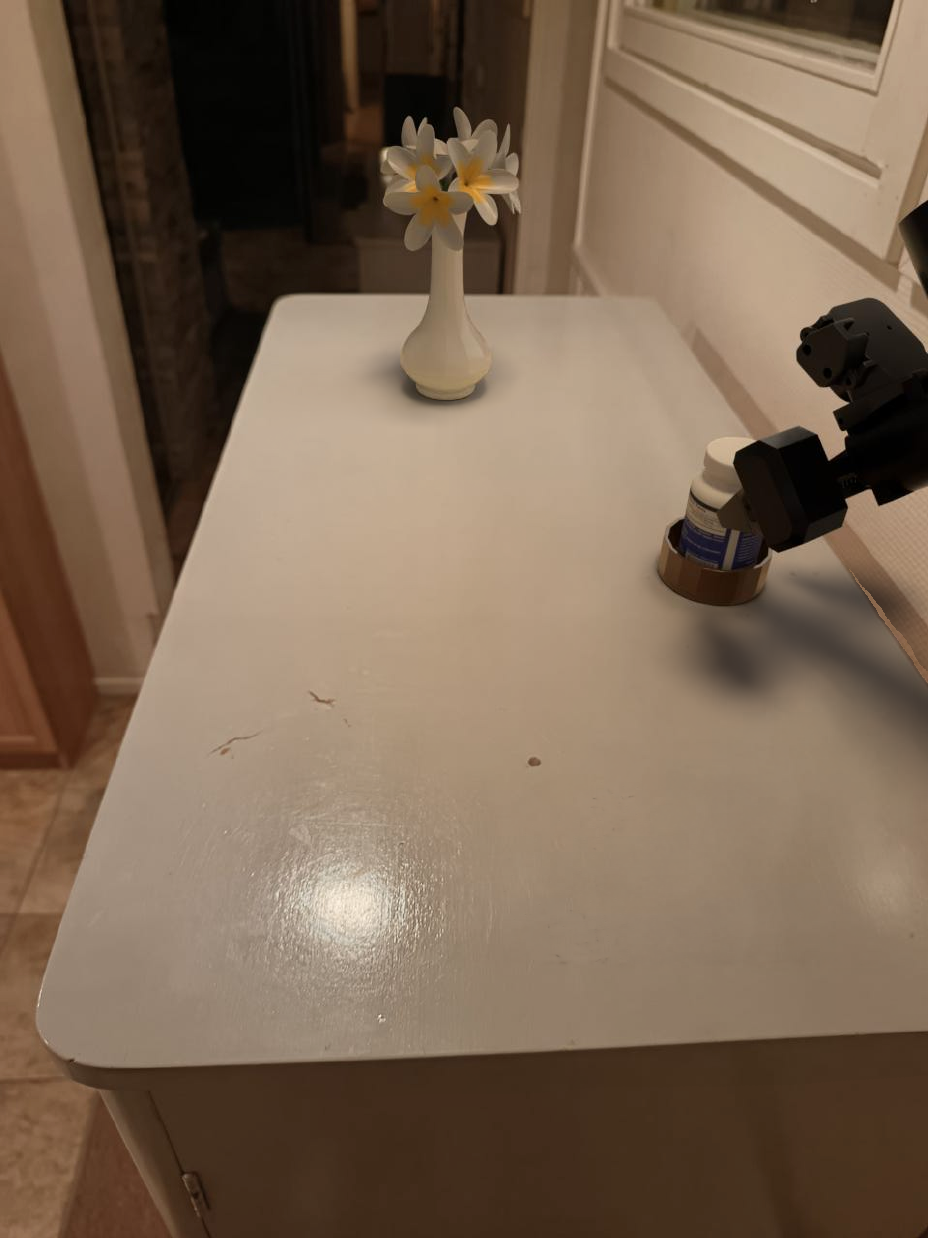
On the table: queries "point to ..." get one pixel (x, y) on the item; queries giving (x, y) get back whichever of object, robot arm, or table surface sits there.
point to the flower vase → (447, 242)
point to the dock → (709, 573)
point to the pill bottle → (706, 497)
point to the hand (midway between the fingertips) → (767, 500)
